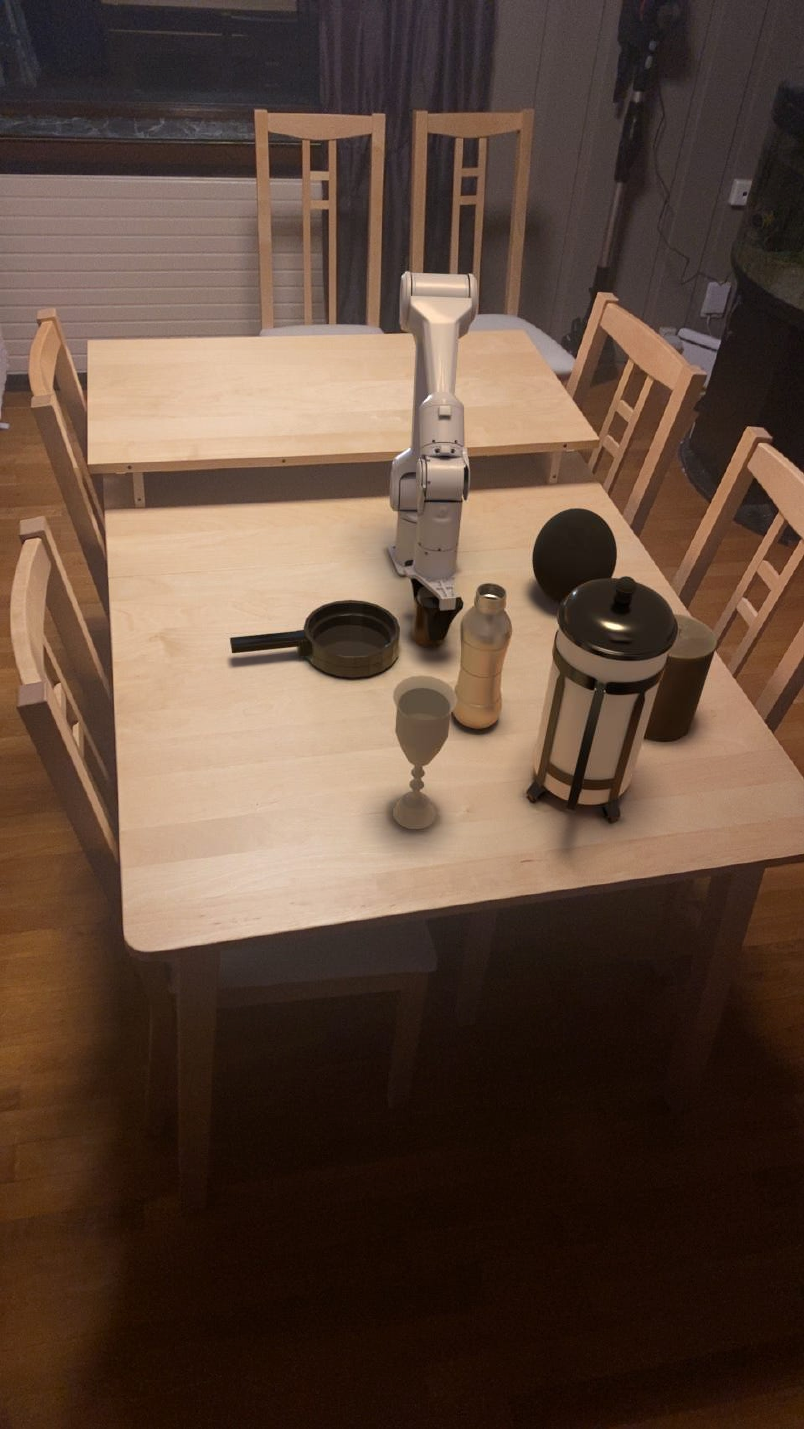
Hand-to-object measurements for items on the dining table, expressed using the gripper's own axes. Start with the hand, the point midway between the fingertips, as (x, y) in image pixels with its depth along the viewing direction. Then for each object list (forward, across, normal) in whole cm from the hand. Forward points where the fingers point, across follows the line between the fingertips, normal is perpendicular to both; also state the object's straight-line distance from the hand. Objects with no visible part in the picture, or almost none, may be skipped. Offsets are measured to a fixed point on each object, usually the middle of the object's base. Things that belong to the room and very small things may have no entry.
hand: (429, 623), depth 142 cm
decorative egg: (+3, -6, +24) cm, 24 cm away
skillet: (+3, +1, -12) cm, 12 cm away
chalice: (+3, +33, -10) cm, 35 cm away
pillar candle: (+3, +22, +26) cm, 34 cm away
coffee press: (+3, +33, +10) cm, 35 cm away
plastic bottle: (+3, +18, +2) cm, 18 cm away
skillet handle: (+2, +1, -23) cm, 23 cm away
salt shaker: (+3, 0, 0) cm, 3 cm away
